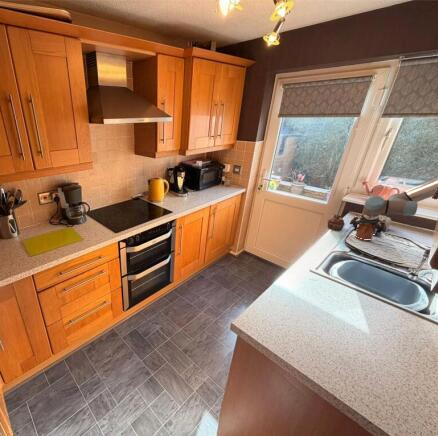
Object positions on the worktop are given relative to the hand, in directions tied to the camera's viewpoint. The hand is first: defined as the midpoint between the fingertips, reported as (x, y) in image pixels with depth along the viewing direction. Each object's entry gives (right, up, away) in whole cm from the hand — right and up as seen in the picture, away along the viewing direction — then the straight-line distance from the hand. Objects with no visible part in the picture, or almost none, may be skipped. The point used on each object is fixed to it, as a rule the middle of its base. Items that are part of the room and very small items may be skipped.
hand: (365, 231), depth 149 cm
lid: (+9, -1, +5) cm, 11 cm away
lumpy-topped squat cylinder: (+22, +1, +14) cm, 26 cm away
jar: (-2, -5, 0) cm, 5 cm away
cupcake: (-9, +1, +14) cm, 17 cm away
